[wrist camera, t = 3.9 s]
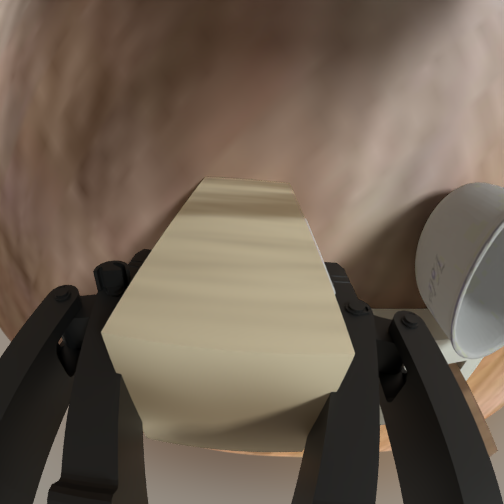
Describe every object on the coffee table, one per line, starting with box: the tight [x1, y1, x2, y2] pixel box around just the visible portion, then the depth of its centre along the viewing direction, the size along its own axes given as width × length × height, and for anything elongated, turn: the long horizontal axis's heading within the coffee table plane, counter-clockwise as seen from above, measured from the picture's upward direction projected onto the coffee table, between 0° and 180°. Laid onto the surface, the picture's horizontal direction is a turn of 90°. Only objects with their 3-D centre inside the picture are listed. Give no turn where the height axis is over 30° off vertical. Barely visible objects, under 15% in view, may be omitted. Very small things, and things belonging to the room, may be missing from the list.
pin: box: [101, 177, 355, 452], centre depth 12 cm, size 5×5×13 cm
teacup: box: [415, 183, 504, 359], centre depth 15 cm, size 14×11×8 cm
